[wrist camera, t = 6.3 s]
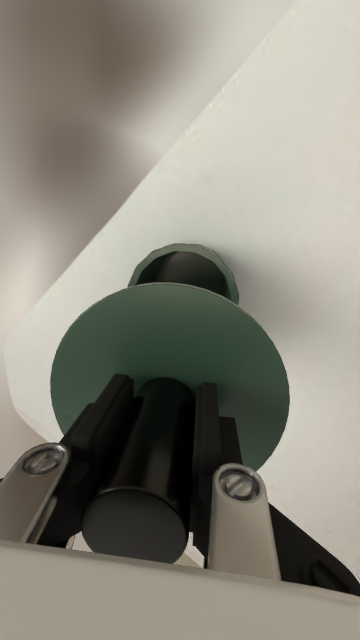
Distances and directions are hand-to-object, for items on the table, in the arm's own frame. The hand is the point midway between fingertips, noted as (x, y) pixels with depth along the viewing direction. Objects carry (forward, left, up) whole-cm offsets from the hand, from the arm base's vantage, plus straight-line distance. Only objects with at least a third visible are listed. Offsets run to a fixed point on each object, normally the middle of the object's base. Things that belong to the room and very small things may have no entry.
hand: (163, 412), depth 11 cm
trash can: (-1, +2, -22) cm, 22 cm away
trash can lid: (0, 0, -1) cm, 1 cm away
